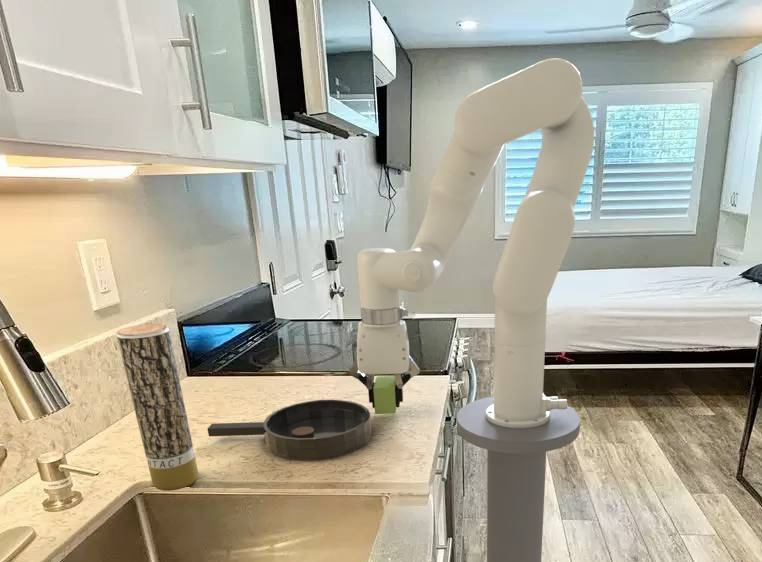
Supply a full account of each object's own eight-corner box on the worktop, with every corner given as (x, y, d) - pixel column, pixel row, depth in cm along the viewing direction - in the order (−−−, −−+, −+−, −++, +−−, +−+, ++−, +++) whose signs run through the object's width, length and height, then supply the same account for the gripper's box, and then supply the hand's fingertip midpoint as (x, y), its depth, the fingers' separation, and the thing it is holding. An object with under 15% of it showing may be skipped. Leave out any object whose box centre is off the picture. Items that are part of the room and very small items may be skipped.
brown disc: (317, 432, 108) (317, 427, 107) (308, 440, 104) (307, 435, 104) (298, 430, 109) (297, 425, 108) (288, 439, 105) (287, 434, 105)
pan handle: (269, 429, 107) (267, 421, 106) (265, 434, 105) (264, 426, 104) (213, 431, 107) (211, 423, 106) (208, 436, 105) (207, 428, 104)
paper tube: (166, 472, 95) (132, 324, 86) (206, 472, 94) (176, 323, 85) (144, 492, 88) (105, 335, 79) (187, 492, 88) (153, 334, 79)
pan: (375, 416, 116) (374, 398, 114) (365, 458, 98) (363, 437, 96) (281, 419, 115) (278, 401, 114) (253, 462, 98) (249, 441, 96)
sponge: (397, 400, 119) (396, 375, 117) (395, 413, 112) (394, 387, 110) (378, 401, 119) (376, 376, 117) (375, 414, 112) (373, 387, 110)
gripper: (425, 310, 112) (427, 398, 119) (340, 312, 112) (347, 399, 119) (424, 319, 105) (427, 411, 112) (334, 321, 105) (342, 413, 112)
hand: (386, 404), depth 115 cm, fingers closed on sponge, 4 cm apart
